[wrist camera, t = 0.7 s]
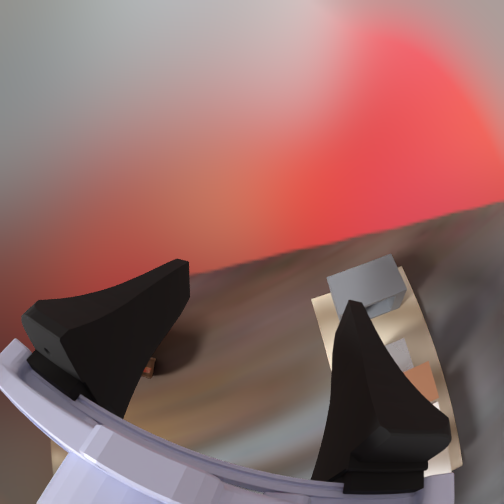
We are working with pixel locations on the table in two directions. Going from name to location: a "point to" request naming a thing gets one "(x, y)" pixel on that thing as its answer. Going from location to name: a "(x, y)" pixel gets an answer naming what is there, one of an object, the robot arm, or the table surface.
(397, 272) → the socket
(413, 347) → the tube stand
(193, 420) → the table surface
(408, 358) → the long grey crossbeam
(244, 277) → the table surface
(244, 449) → the table surface
